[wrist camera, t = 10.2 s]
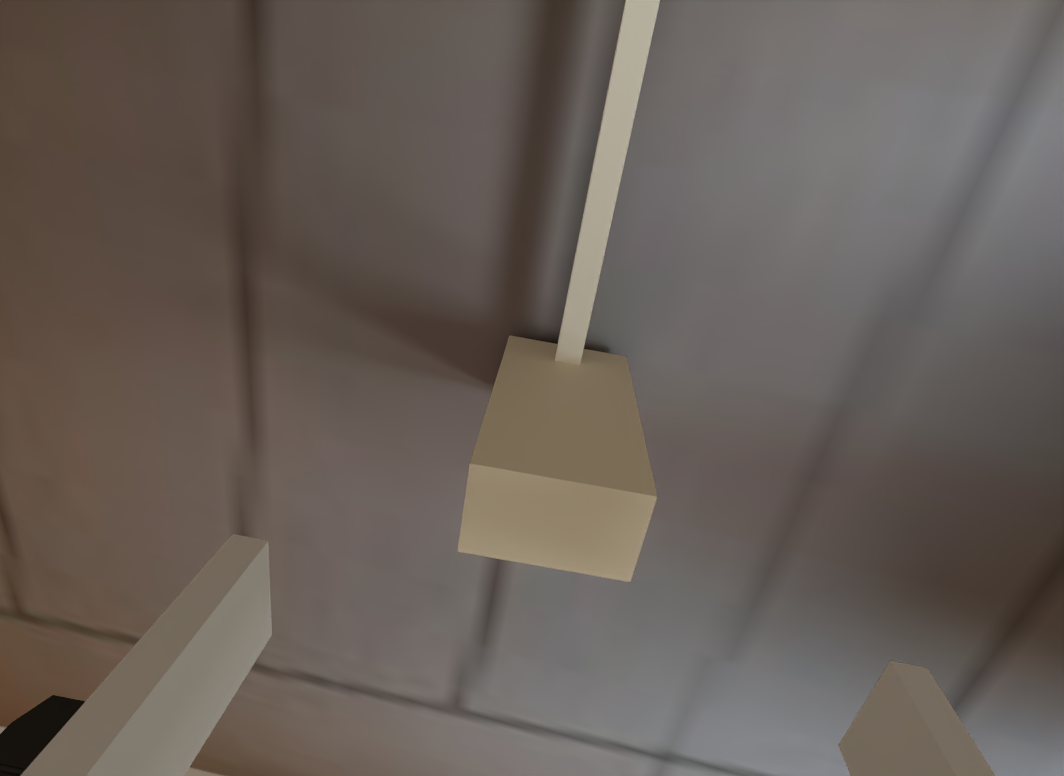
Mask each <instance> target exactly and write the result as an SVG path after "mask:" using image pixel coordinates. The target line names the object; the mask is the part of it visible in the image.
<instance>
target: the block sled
mask: <svg viewBox="0 0 1064 776" xmlns="http://www.w3.org/2000/svg"><path fill="white" fill-rule="evenodd" d="M659 3H660V0H625V4H624V9H623V15H622V20H621V25H620V30H619V35H618V40H617V45H616V50H615V55H614V60H613V65H612V70H611V75H610V80H609V85H608V91H607V96H606V101H605V106H604V111H603V116H602V121H601V126H600V131H599V136H598V141H597V146H596V151H595V156H594V161H593V167H592V172H591V177H590V182H589V187H588V192H587V197H586V202H585V207H584V212H583V217H582V222H581V227H580V232H579V237H578V243H577V248H576V253H575V258H574V263H573V268H572V273H571V278H570V283H569V288H568V293H567V298H566V303H565V308H564V313H563V319H562V324H561V329H560V334H559V339H558V344H555V343H549V342H544V341H538V340H532V339H527V338H521V337H516V336H510V335H509V338H508V342H507V345H506V348H505V351H504V355H503V358H502V361H501V364H500V368H499V371H498V374H497V377H496V380H495V384H494V387H493V390H492V393H491V397H490V400H489V403H488V406H487V410H486V413H485V416H484V419H483V423H482V426H481V429H480V432H479V435H478V439H477V442H476V445H475V448H474V452H473V455H472V458H471V461H470V466H469V473H468V480H467V487H466V495H465V502H464V509H463V516H462V523H461V530H460V537H459V544H458V552H463V553H469V554H474V555H480V556H486V557H491V558H497V559H503V560H508V561H514V562H520V563H525V564H531V565H536V566H542V567H548V568H553V569H559V570H565V571H570V572H576V573H582V574H587V575H593V576H599V577H604V578H610V579H616V580H621V581H627V582H631V579H632V576H633V572H634V569H635V566H636V563H637V560H638V557H639V554H640V550H641V547H642V544H643V541H644V538H645V535H646V531H647V528H648V525H649V522H650V519H651V516H652V512H653V509H654V506H655V503H656V500H657V493H656V488H655V484H654V479H653V475H652V470H651V465H650V461H649V456H648V452H647V447H646V443H645V438H644V434H643V429H642V425H641V420H640V416H639V411H638V407H637V402H636V398H635V393H634V389H633V384H632V380H631V375H630V371H629V366H628V362H627V357H626V356H621V355H616V354H610V353H605V352H599V351H593V350H588V349H584V345H585V340H586V336H587V331H588V326H589V322H590V317H591V313H592V308H593V304H594V299H595V294H596V290H597V285H598V281H599V276H600V272H601V267H602V263H603V258H604V253H605V249H606V244H607V240H608V235H609V231H610V226H611V222H612V217H613V212H614V208H615V203H616V199H617V194H618V190H619V185H620V180H621V176H622V171H623V167H624V162H625V158H626V153H627V149H628V144H629V139H630V135H631V130H632V126H633V121H634V117H635V112H636V107H637V103H638V98H639V94H640V89H641V85H642V80H643V76H644V71H645V66H646V62H647V57H648V53H649V48H650V44H651V39H652V34H653V30H654V25H655V21H656V16H657V12H658V7H659Z"/></svg>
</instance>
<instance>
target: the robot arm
mask: <svg viewBox="0 0 1064 776" xmlns="http://www.w3.org/2000/svg"><path fill="white" fill-rule="evenodd" d="M271 636H272V624H271V599H270V573H269V547H268V541H266V540H261V539H256V538H251V537H245V536H240V535H235V534H232V535H231V536H230V537H229V539H228V540H227V541H226V542H225V543H224V544H223V545H222V546H221V548H220V549H219V550H218V551H217V552H216V553H215V554H214V556H213V557H212V558H211V559H210V560H209V561H208V562H207V564H206V565H205V566H204V567H203V568H202V569H201V570H200V572H199V573H198V574H197V575H196V576H195V577H194V578H193V580H192V581H191V582H190V583H189V584H188V585H187V586H186V588H185V589H184V590H183V591H182V592H181V593H180V594H179V595H178V597H177V598H176V599H175V600H174V601H173V602H172V603H171V605H170V606H169V607H168V608H167V609H166V610H165V611H164V613H163V614H162V615H161V616H160V617H159V618H158V619H157V621H156V622H155V623H154V624H153V625H152V626H151V627H150V629H149V630H148V631H147V632H146V633H145V634H144V635H143V637H142V638H141V639H140V640H139V641H138V642H137V643H136V644H135V646H134V647H133V648H132V649H131V650H130V651H129V652H128V654H127V655H126V656H125V657H124V658H123V659H122V660H121V662H120V663H119V664H118V665H117V666H116V667H115V668H114V670H113V671H112V672H111V673H110V674H109V675H108V676H107V678H106V679H105V680H104V681H103V682H102V683H101V684H100V686H99V687H98V688H97V689H96V690H95V691H94V692H93V693H92V695H91V696H90V697H89V698H88V699H87V700H86V701H80V700H75V699H70V698H65V697H60V696H55V695H53V696H51V697H50V698H48V699H47V700H45V701H43V702H42V703H40V704H39V705H37V706H36V707H34V708H33V709H31V710H30V711H28V712H27V713H25V714H24V715H22V716H21V717H19V718H18V719H16V720H15V721H13V722H12V723H11V724H10V725H9V726H8V727H7V728H6V729H5V730H4V731H3V732H2V733H1V734H0V776H184V775H185V773H186V772H187V770H188V769H189V767H190V765H191V764H192V762H193V760H194V759H195V757H196V756H197V754H198V752H199V751H200V749H201V748H202V746H203V744H204V743H205V741H206V740H207V738H208V736H209V735H210V733H211V732H212V730H213V728H214V727H215V725H216V724H217V722H218V720H219V719H220V717H221V716H222V714H223V712H224V711H225V709H226V708H227V706H228V704H229V703H230V701H231V700H232V698H233V696H234V695H235V693H236V692H237V690H238V688H239V687H240V685H241V684H242V682H243V680H244V679H245V677H246V676H247V674H248V672H249V671H250V669H251V668H252V666H253V664H254V663H255V661H256V660H257V658H258V656H259V655H260V653H261V652H262V650H263V648H264V647H265V645H266V644H267V642H268V640H269V639H270V637H271ZM839 748H840V750H841V753H842V755H843V757H844V760H845V762H846V765H847V767H848V770H849V772H850V775H851V776H995V774H994V773H993V771H992V770H991V768H990V766H989V765H988V763H987V762H986V760H985V758H984V757H983V755H982V754H981V752H980V751H979V749H978V747H977V746H976V744H975V743H974V741H973V740H972V738H971V736H970V735H969V733H968V732H967V730H966V728H965V727H964V725H963V724H962V722H961V721H960V719H959V717H958V716H957V714H956V713H955V711H954V709H953V708H952V706H951V705H950V703H949V702H948V700H947V698H946V697H945V695H944V694H943V692H942V690H941V689H940V687H939V686H938V684H937V683H936V681H935V679H934V678H933V676H932V675H931V673H930V672H929V670H928V668H925V667H920V666H915V665H910V664H905V663H899V662H894V661H890V662H889V664H888V665H887V667H886V669H885V670H884V672H883V674H882V675H881V677H880V678H879V680H878V682H877V683H876V685H875V687H874V688H873V690H872V691H871V693H870V695H869V696H868V698H867V700H866V701H865V703H864V704H863V706H862V708H861V709H860V711H859V712H858V714H857V716H856V717H855V719H854V721H853V722H852V724H851V725H850V727H849V729H848V730H847V732H846V734H845V735H844V737H843V738H842V740H841V742H840V743H839Z"/></svg>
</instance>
